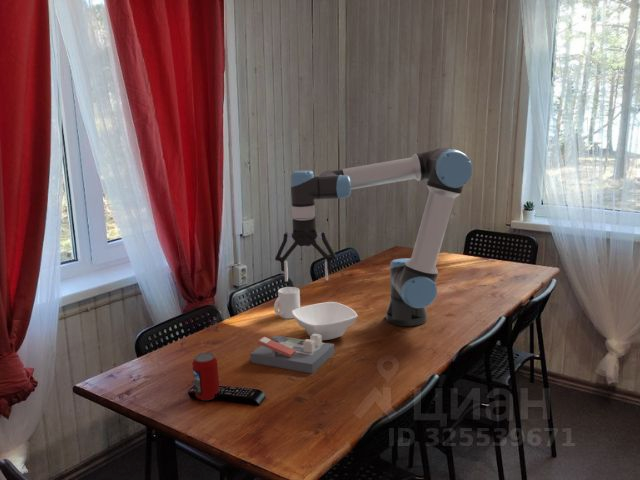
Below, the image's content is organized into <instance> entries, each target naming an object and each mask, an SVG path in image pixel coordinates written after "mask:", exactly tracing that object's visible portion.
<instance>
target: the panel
mask: <svg viewBox="0 0 640 480" xmlns="http://www.w3.org/2000/svg"><path fill="white" fill-rule="evenodd" d="M269 339H271V340H273V341H275V342H278V343H280V344H282V345H285V346H287V347H289V348H292V349H294V350H296V352H295V354H294V355H292V356H291V357H288V356H286V355H283V354H281V353H279V352H276V351H274V350H272V349H269V348H267V347H265V346H262V345H260V346H259V347H258V348H256V349H254V350H253V351H252V352H250V355H249V356H250V363H251V364H257V365H263V366H264V365H265V366H269V367H270V366H271V367H276V368H279V369H280V368H281V369H286V370H292V371H295V372H296V371H298V372H303V373H308V374H314V373H315V372H316V371H317V370H318V369H319V368H320V367H321V366H322V365H324V363H326V361H327V360H329V359H330V358H331V357H332V356H333V355H334V354H335V344H334V343H330V342H323V341H322V344H321V345H320V346H319V347H317V346H315V351H313V352H312V353H310V352H304V351H303V342H304V341H305V340H306V339H304V338H303V339H302V338H295V337H290V336H283V335H276V334H275V335H273V336H272V337H270V338H269Z"/></svg>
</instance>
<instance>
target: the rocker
mask: <svg viewBox="0 0 640 480" xmlns="http://www.w3.org/2000/svg"><path fill="white" fill-rule="evenodd" d="M256 343H257V345H260V346H261V345H262V346H265V347H267V348H269V349H272V350H274V351H276V352H279V353H281V354H283V355H286V356H288V357H291V356H292V355H294V354H295V352H296V350H294V349H292V348H289V347H287V346H285V345H282V344H280V343H278V342H275V341H273V340H271V339H270V338H268V337H266V336H262V337H261V338H259V339H258V340H257V342H256Z"/></svg>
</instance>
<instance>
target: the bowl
mask: <svg viewBox="0 0 640 480" xmlns="http://www.w3.org/2000/svg"><path fill="white" fill-rule="evenodd" d="M292 315H293V317H294V318H293V319H295V321H296V322H297V324H298V326H300V327H301V328H302V329H304V330H305V333H307V334H308V336H309V337H310V336H311V335H312V334H314V333H315V334H320V335H322V342H323V341H328V340H333V339H334V340H335V339H337V338H339V337H341V336H343V335H344V334H345V332H346V331H347V330H348V327H351V326H352V325H354V323H355V321H356V320H357V319H358V313H357V312H356V311H355V310H354V309H352V308H351V307H350V306H347V305H345V304H342V303H340V302H336V301H327V302H320V303H314V304H309V305H304V306H300V308H297V309H295V310H292Z"/></svg>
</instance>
